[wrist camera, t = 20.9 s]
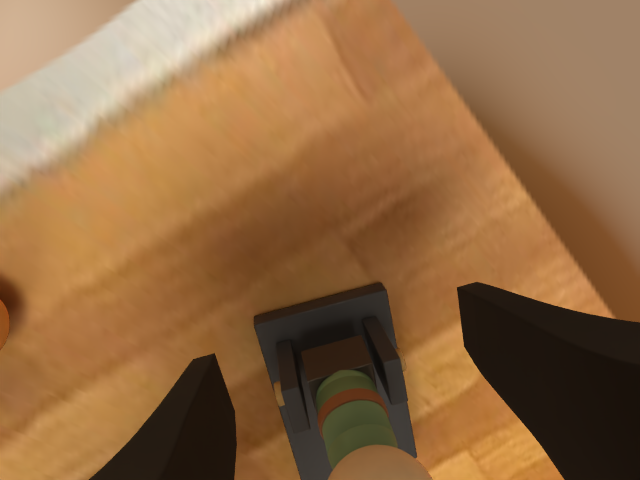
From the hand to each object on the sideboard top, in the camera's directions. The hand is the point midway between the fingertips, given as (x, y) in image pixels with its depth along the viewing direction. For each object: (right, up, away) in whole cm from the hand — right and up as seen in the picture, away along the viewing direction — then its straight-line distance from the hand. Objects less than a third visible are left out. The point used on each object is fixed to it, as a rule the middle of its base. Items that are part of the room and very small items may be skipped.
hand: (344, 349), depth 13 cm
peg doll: (0, -3, +9) cm, 10 cm away
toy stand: (0, -5, +13) cm, 14 cm away
